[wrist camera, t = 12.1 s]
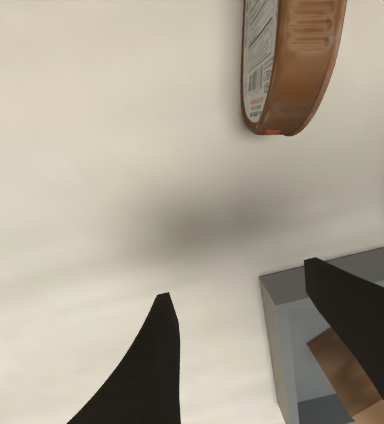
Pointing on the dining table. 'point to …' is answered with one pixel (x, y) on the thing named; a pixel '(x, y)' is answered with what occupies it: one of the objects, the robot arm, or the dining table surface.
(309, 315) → the bin
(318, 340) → the block
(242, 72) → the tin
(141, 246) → the dining table surface
